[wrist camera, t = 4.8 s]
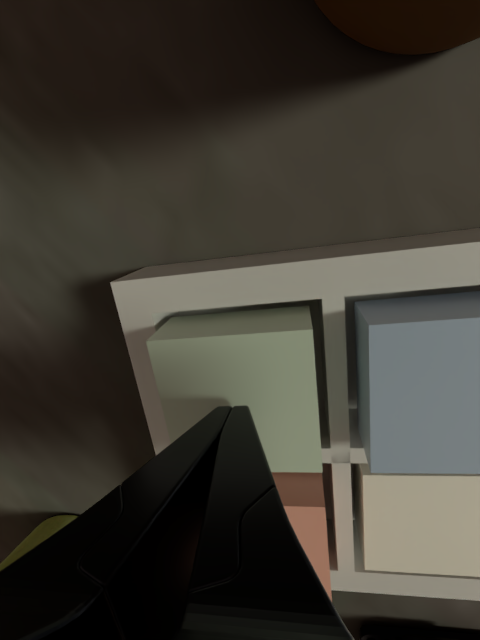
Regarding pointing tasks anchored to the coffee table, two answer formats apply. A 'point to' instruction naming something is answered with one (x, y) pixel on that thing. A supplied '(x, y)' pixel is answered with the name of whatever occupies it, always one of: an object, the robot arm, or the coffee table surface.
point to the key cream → (418, 521)
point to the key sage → (244, 378)
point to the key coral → (307, 517)
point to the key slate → (419, 383)
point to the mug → (405, 23)
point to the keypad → (329, 348)
